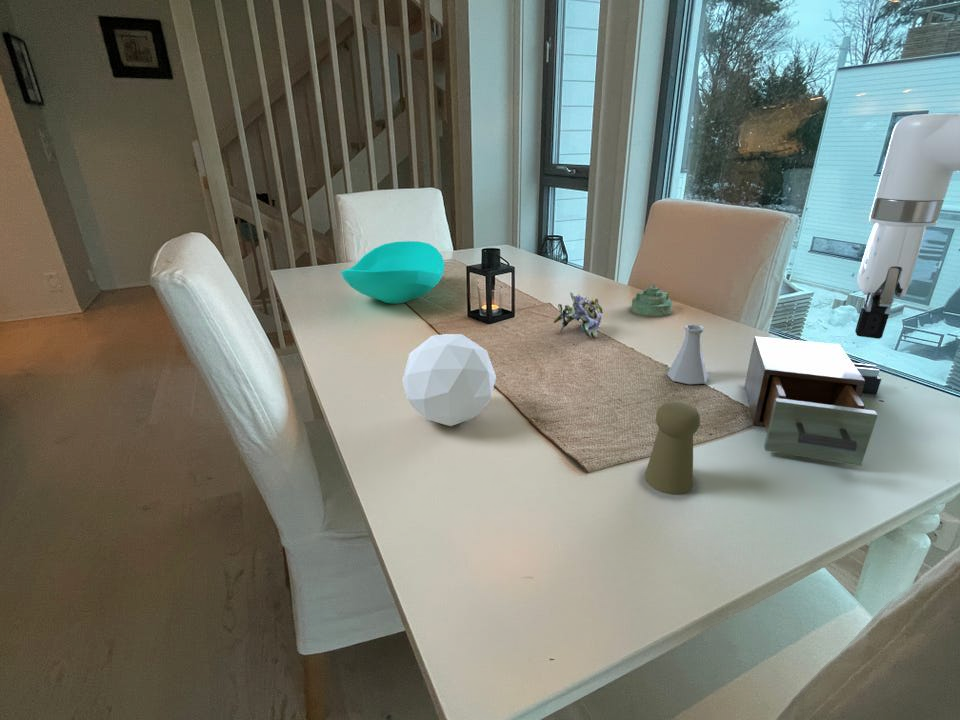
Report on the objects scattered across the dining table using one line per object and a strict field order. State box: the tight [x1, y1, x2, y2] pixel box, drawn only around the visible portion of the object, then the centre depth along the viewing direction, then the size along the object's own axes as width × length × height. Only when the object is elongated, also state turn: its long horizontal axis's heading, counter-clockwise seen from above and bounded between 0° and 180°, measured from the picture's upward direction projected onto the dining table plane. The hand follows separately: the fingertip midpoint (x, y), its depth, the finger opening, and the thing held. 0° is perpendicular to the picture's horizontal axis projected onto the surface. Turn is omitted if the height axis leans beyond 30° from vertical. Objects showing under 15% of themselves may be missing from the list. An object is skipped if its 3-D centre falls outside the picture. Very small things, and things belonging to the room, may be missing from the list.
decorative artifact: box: [630, 283, 674, 317], centre depth 132 cm, size 10×7×10 cm
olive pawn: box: [644, 400, 701, 495], centre depth 65 cm, size 6×6×11 cm
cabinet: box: [744, 335, 865, 428], centre depth 82 cm, size 15×13×10 cm
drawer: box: [762, 375, 878, 467], centre depth 72 cm, size 18×11×8 cm, turn 159°
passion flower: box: [553, 292, 604, 338], centre depth 117 cm, size 11×11×12 cm
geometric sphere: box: [401, 333, 497, 427], centre depth 81 cm, size 14×15×15 cm
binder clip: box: [852, 362, 882, 396], centre depth 89 cm, size 5×3×4 cm, turn 69°
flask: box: [666, 323, 708, 385], centre depth 94 cm, size 7×7×10 cm
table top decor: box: [340, 240, 446, 304], centre depth 145 cm, size 40×28×13 cm
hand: (867, 335), depth 78 cm, fingers closed
